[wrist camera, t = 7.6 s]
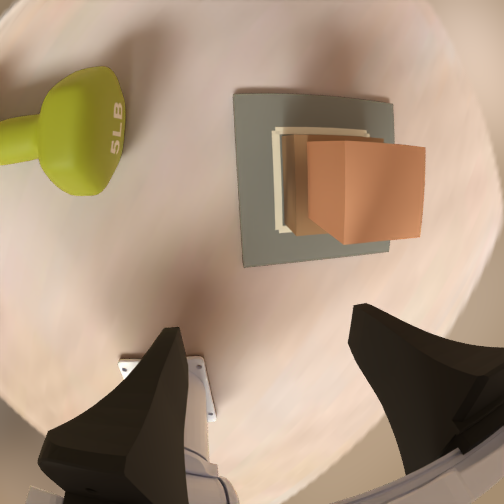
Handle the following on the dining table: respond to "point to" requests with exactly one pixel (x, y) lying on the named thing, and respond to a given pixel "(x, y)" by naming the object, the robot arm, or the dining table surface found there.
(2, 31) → the dining table surface
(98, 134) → the dumbbell
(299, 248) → the grey square base plate
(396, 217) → the top block
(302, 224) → the base block
